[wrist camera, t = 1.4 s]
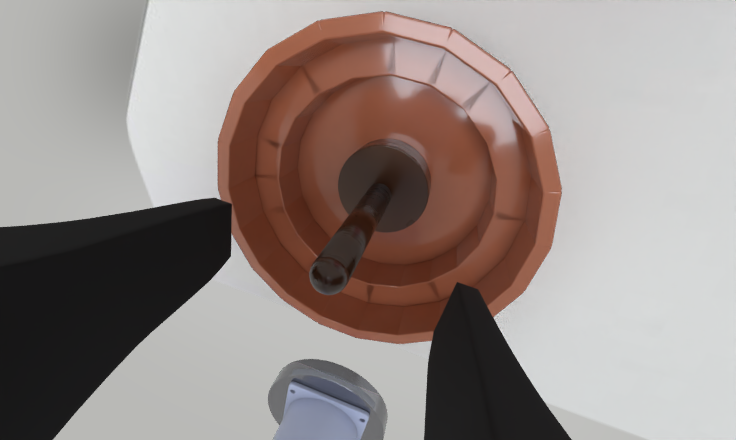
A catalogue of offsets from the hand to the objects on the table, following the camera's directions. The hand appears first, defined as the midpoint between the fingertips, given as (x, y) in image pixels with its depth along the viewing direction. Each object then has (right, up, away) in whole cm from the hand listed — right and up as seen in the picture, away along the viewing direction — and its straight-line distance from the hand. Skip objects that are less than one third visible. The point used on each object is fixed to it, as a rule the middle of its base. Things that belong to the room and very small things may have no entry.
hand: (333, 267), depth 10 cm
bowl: (+2, +4, +8) cm, 9 cm away
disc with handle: (+2, +4, +7) cm, 8 cm away
